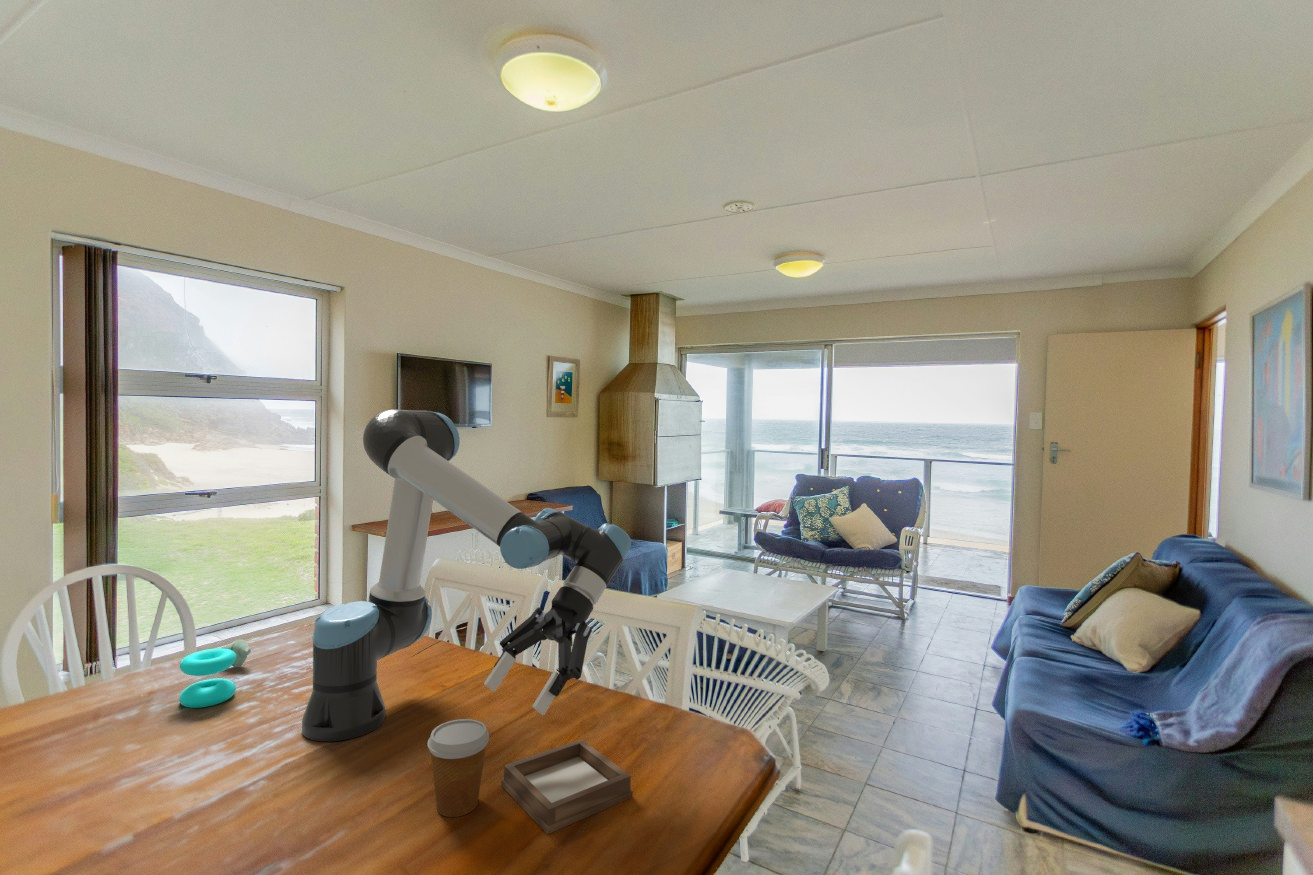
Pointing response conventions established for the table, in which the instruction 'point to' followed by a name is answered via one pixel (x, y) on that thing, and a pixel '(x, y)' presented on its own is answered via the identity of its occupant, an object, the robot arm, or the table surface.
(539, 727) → the table surface
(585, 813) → the holder
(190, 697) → the donuts
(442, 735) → the disposable coffee cup
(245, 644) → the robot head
